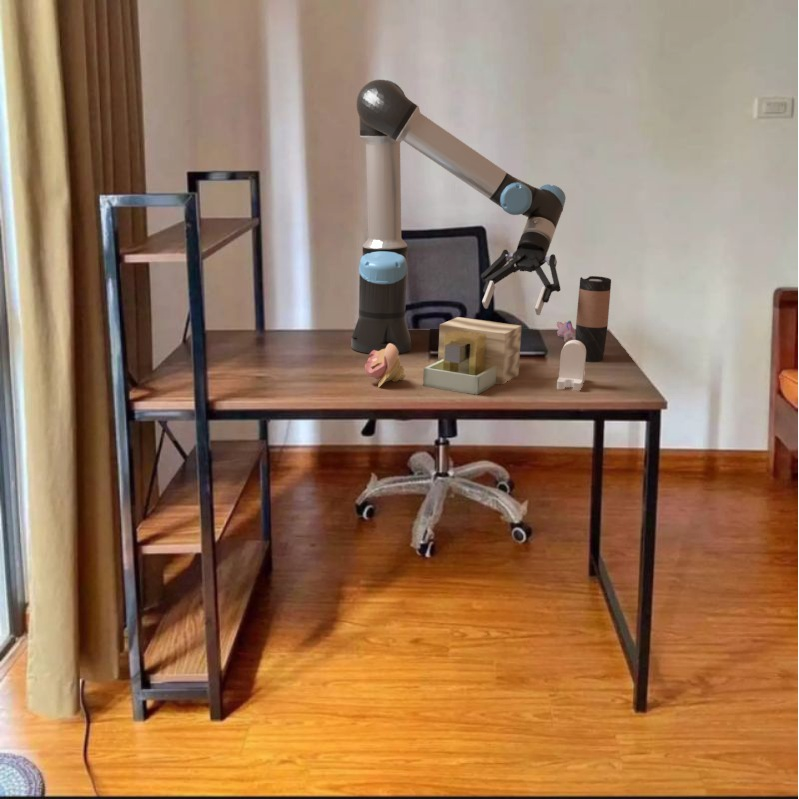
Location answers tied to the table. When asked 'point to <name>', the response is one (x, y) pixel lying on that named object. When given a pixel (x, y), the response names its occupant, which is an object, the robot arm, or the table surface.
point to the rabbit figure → (566, 331)
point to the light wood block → (489, 345)
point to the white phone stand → (572, 365)
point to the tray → (458, 379)
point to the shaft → (457, 352)
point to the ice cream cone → (385, 365)
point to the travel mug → (593, 316)
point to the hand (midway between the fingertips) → (510, 308)
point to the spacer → (476, 351)
